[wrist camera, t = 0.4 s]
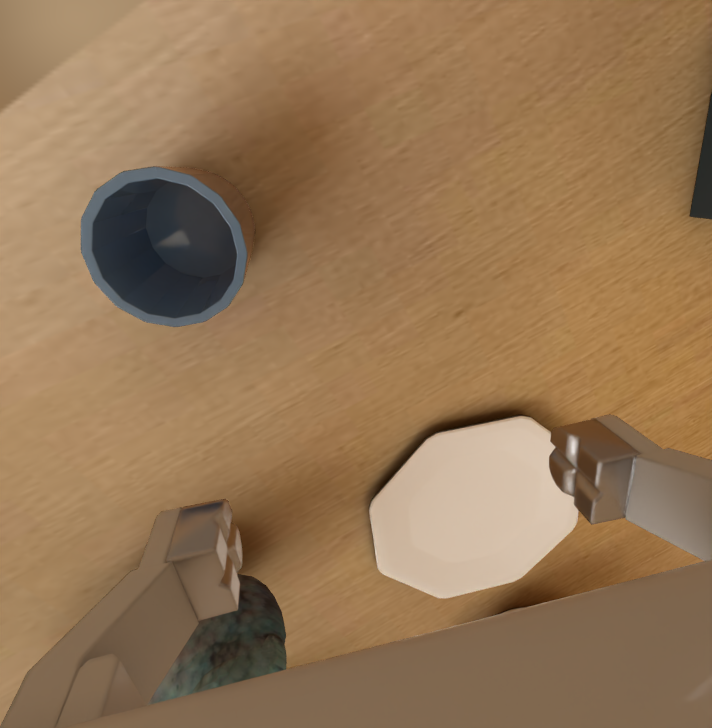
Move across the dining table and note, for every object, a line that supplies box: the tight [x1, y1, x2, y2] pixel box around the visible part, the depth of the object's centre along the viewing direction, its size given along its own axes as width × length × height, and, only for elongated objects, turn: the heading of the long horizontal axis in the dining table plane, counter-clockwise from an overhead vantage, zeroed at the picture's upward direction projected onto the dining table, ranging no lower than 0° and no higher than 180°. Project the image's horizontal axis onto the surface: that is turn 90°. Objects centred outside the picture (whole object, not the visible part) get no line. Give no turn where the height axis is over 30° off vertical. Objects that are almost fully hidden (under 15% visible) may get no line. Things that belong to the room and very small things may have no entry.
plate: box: [369, 415, 579, 598], centre depth 40 cm, size 20×20×2 cm
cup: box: [81, 166, 255, 327], centre depth 23 cm, size 7×7×9 cm
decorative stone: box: [147, 574, 286, 705], centre depth 29 cm, size 21×9×20 cm, turn 119°
